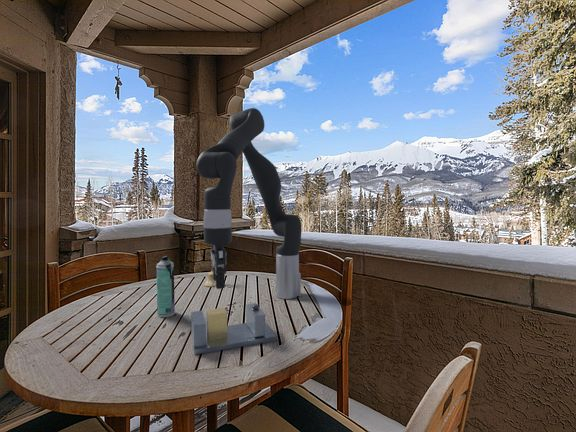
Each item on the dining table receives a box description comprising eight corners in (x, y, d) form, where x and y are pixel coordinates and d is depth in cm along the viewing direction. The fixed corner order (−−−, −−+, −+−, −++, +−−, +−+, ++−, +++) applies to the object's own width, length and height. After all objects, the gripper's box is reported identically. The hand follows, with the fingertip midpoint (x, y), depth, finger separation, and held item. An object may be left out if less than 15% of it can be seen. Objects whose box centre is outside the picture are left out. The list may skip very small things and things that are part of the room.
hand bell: (208, 281, 146) (208, 248, 145) (225, 282, 145) (224, 249, 144) (201, 286, 138) (200, 251, 137) (218, 287, 137) (218, 252, 136)
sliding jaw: (255, 322, 94) (255, 299, 94) (265, 335, 85) (265, 310, 84) (246, 323, 93) (246, 300, 93) (254, 337, 84) (254, 312, 83)
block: (224, 331, 88) (224, 307, 87) (227, 337, 84) (227, 312, 84) (207, 334, 86) (206, 309, 86) (208, 340, 82) (208, 314, 82)
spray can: (178, 312, 106) (177, 255, 105) (167, 318, 101) (165, 258, 100) (165, 310, 108) (164, 254, 107) (153, 316, 103) (152, 257, 102)
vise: (264, 324, 96) (264, 301, 96) (276, 340, 85) (276, 315, 85) (191, 335, 88) (190, 310, 88) (194, 354, 77) (193, 326, 77)
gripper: (235, 227, 78) (236, 290, 79) (228, 223, 92) (229, 276, 92) (205, 228, 76) (206, 293, 77) (202, 224, 89) (203, 278, 90)
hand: (218, 284), depth 85 cm, fingers open, 8 cm apart
